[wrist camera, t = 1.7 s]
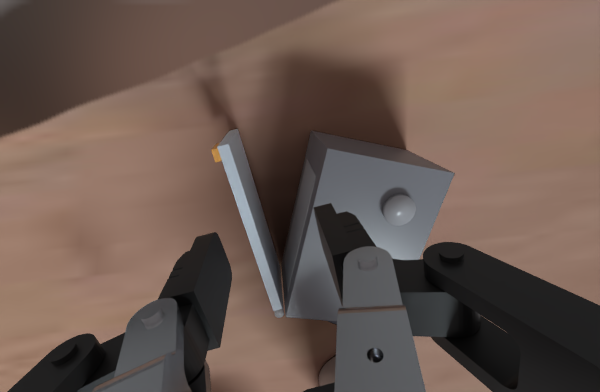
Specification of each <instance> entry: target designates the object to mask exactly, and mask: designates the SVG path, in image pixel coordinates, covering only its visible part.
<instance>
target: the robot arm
mask: <svg viewBox="0 0 600 392" xmlns="http://www.w3.org/2000/svg"><path fill="white" fill-rule="evenodd" d="M313 208H314V213H315V218H316V222H317V226H318V231H319V235H320V239H321V244H322V247H323V251H324V254H325V257H326V260H327V263H328V266H329V269H330V272H331V275H332V278H333V281H334V284H335V287H336V290H337V293H338V296H339V299H340V302H341V305H342V308H339V309H338V315H337V339H336V356H335V357H333V358H332V359H330V360H329V361H328V362H327V363H326V364H325V365H324V366H323V368H322V369H321V371H320V374H319V387H315V388H311V389H307V390H305V391H304V392H426V390H425V386H424V382H423V378H422V374H421V369H420V365H419V361H418V357H417V352H416V348H415V344H414V340H413V336H429V337H431V338H432V339H433V340H434V341H435V342H436V343H437V344H438V345H439V346H440V347H441V348H442V349H444V350H445V351H446V352H447V353H448V354H449V355H451V356H452V357H453V358H454V359H455V360H456V361H458V362H459V363H460V364H461V365H462V366H463V367H465V368H466V369H467V370H468V371H469V372H470V373H472V374H473V375H474V376H475V377H476V378H477V379H478V380H480V381H481V382H482V383H483V384H484V385H485V386H487V387H488V388H489V389H490V390H491V391H492V392H600V305H597V304H595V303H593V302H591V301H589V300H586V299H584V298H582V297H580V296H578V295H575V294H573V293H571V292H569V291H567V290H564V289H562V288H560V287H558V286H556V285H553V284H551V283H549V282H547V281H544V280H542V279H540V278H538V277H536V276H533V275H531V274H529V273H527V272H525V271H522V270H520V269H518V268H516V267H514V266H511V265H509V264H507V263H505V262H503V261H500V260H498V259H496V258H494V257H492V256H489V255H487V254H485V253H483V252H481V251H478V250H476V249H474V248H472V247H470V246H467V245H464V244H461V243H454V242H443V243H437V244H434V245H432V246H430V247H428V248H427V249H426V250H425V251H424V253H423V259H422V260H398V259H393V258H392V256H391V255H390V253H389V252H388V251H386V250H385V249H382V248H379V247H376V245H375V244H374V242H373V241H372V239H371V238H370V236H369V235H368V233H367V232H366V230H365V229H364V227H363V226H362V224H360V221H359V220H358V218H357V217H356V215H354V214H352V213H349V212H347V211H346V212H342V213H338V214H337V213H336V211H335V209H334V208H333V206H332V204H331V203H329V204H325V205H321V206H317V207H313ZM231 281H232V272H231V267H230V264H229V261H228V259H227V256H226V253H225V251H224V248H223V246H222V243H221V241H220V238H219V236H218V234H217V233H216V232H214V233H210V234H206V235H202V236H198V237H196V239H195V241H194V243H193V245H192V248H191V250H190V251H188V252H185V253H184V254H183V255H182V256H181V257H180V258H179V259H178V260H177V262H176V264H175V266H174V268H173V271H172V272H171V274H170V276H169V279H168V280H167V282H166V284H165V286H164V288H163V290H162V292H161V294H160V296H159V298H158V300H156V301H153V302H151V303H149V304H147V305H146V306H144V307H143V308H141V309H140V310H139V311H138V312H136V313H135V314H134V316H133V317H132V318H131V319H130V321H129V322H128V325H127V328H126V332H125V333H123V334H121V335H119V336H117V337H115V338H113V339H111V340H108V341H106V342H104V343H102V344H100V343H99V342H98V340H97V339H96V337H95V336H94V335H92V334H82V335H78V336H76V337H73V338H71V339H69V340H67V341H65V342H64V343H62V344H60V345H59V346H58V347H56V348H55V349H54V350H52V351H51V352H50V353H49V354H48V355H46V356H45V357H44V358H43V359H42V360H41V361H40V362H39V363H38V364H37V365H36V366H35V367H34V368H32V369H31V370H30V371H29V372H28V373H27V374H26V375H25V376H24V377H23V378H22V379H21V380H20V381H18V382H17V383H16V384H15V385H14V386H13V387H12V388H11V389H10V390H9V391H8V392H212V391H211V381H210V371H209V366H208V364H207V362H206V360H205V358H206V354H207V351H208V350H212V349H216V348H220V344H221V338H222V333H223V327H224V321H225V315H226V310H227V304H228V298H229V292H230V287H231ZM481 315H482V316H483V317H482V316H481ZM484 317H485V318H486V319H485V318H484ZM487 319H488V320H489V321H488V320H487ZM490 321H491V322H492V323H491V322H490ZM493 323H494V324H495V325H494V324H493ZM496 325H497V326H499V327H500V328H502V329H503V330H502V329H500V328H499V327H497V326H496ZM504 330H505V331H506V332H505V331H504Z"/></svg>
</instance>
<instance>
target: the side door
mask: <svg viewBox="0 0 600 392" xmlns="http://www.w3.org/2000/svg"><path fill="white" fill-rule="evenodd" d="M211 151H212V154H213V156H214V159H215V162H219V161H222V162H223V165H224V168H225V171H226V174H227V177H228V180H229V183H230V186H231V189H232V192H233V195H234V197H235V200H236V203H237V206H238V209H239V212H240V215H241V218H242V221H243V224H244V227H245V230H246V232H247V235H248V238H249V241H250V244H251V247H252V250H253V253H254V256H255V259H256V262H257V265H258V267H259V270H260V273H261V276H262V279H263V282H264V285H265V288H266V291H267V294H268V297H269V300H270V302H271V305H272V308H273V311H275V316H276V317H278V318H280V317H282V316H283V315H284V310H283V297H282V284H281V271H280V265H279V261H278V258H277V255H276V251H275V248H274V245H273V242H272V238H271V235H270V232H269V229H268V225H267V222H266V219H265V216H264V212H263V209H262V206H261V203H260V199H259V196H258V193H257V190H256V186H255V183H254V180H253V177H252V173H251V170H250V167H249V163H248V160H247V157H246V154H245V150H244V147H243V144H242V141H241V137H240V134H239V131H238V129H234V130H230V131H229V132H228V133H227V134H226V136H225V137H224V138H223V140H222V141H221V142H220V143H217V144H216V145H215V146H214V147H213V148H212V150H211Z"/></svg>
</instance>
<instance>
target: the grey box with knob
mask: <svg viewBox="0 0 600 392" xmlns="http://www.w3.org/2000/svg"><path fill="white" fill-rule="evenodd" d="M454 174H455V173H453V172H451V171H449V170H447V169H445V168H443V167H441V166H439V165H437V164H435V163H433V162H431V161H428V160H426V159H424V158H422V157H420V156H418V155H416V154H414V153H412V152H410V151H408V150H404V149H399V148H394V147H389V146H385V145H380V144H375V143H370V142H365V141H360V140H355V139H350V138H345V137H340V136H335V135H330V134H326V133H321V132H316V131H311V133H310V137H309V142H308V146H307V151H306V155H305V160H304V164H303V169H302V173H301V178H300V182H299V187H298V191H297V196H296V200H295V205H294V209H293V214H292V218H291V223H290V227H289V232H288V236H287V240H286V245H285V249H284V254H283V258H282V263H281V265H282V277H283V289H284V301H285V312H286V317H291V318H303V319H315V320H327V321H329V322H331V323H333V324H336V325H337V315H338V309H339V308H342V305H341V302H340V299H339V296H338V293H337V290H336V287H335V284H334V281H333V278H332V275H331V272H330V269H329V266H328V263H327V260H326V257H325V254H324V251H323V247H322V244H321V239H320V235H319V231H318V226H317V222H316V218H315V213H314V208H313V207H317V206H321V205H325V204H329V203H331V204H332V206H333V208H334V209H335V211H336V213H337V214H338V213H342V212H346V211H347V212H349V213H352V214H354V215H356V217H357V218H358V220H359V221H360V224H362V226H363V227H364V229H365V230H366V232H367V233H368V235H369V236H370V238H371V239H372V241H373V242H374V244H375V245H376V247H379V248H382V249H385V250H386V251H388V252H389V253H390V255H391V256H392V258H393V259H398V260H419V258H420V256H421V254H422V251H423V249H424V246H425V244H426V241H427V239H428V237H429V234H430V232H431V229H432V227H433V224H434V222H435V220H436V217H437V215H438V212H439V210H440V207H441V205H442V203H443V200H444V198H445V195H446V193H447V191H448V188H449V186H450V183H451V181H452V178H453V176H454Z"/></svg>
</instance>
